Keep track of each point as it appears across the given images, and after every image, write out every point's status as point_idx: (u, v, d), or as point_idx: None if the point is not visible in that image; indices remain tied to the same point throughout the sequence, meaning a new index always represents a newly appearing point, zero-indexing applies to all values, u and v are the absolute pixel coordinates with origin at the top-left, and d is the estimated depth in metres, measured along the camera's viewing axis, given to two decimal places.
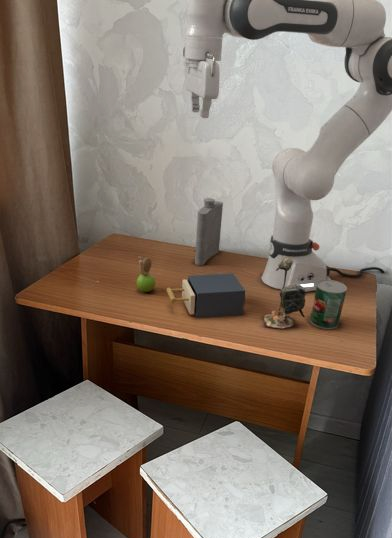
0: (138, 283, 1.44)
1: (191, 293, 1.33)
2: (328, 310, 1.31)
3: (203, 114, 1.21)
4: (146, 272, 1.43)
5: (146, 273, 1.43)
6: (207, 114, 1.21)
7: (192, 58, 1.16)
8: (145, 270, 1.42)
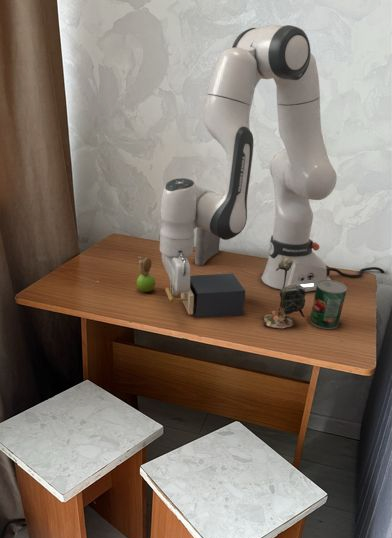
0: (138, 283, 1.44)
1: (190, 293, 1.33)
2: (328, 310, 1.31)
3: (173, 292, 1.34)
4: (146, 272, 1.43)
5: (146, 273, 1.43)
6: (177, 292, 1.34)
7: (166, 254, 1.26)
8: (145, 270, 1.42)
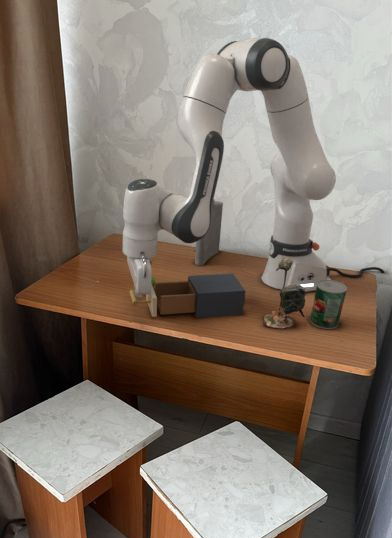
0: None
1: (153, 295, 1.31)
2: (328, 310, 1.31)
3: (137, 294, 1.32)
4: None
5: None
6: (140, 294, 1.32)
7: (128, 255, 1.24)
8: None
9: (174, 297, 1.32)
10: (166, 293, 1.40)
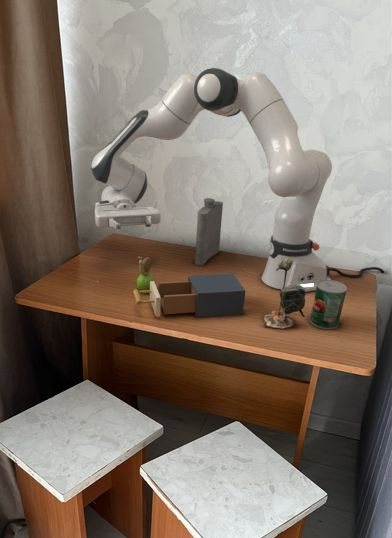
0: (138, 283, 1.44)
1: (157, 295, 1.31)
2: (328, 310, 1.31)
3: None
4: (146, 272, 1.43)
5: (146, 273, 1.43)
6: None
7: (132, 201, 1.56)
8: (145, 270, 1.42)
9: (178, 297, 1.32)
10: (169, 293, 1.40)
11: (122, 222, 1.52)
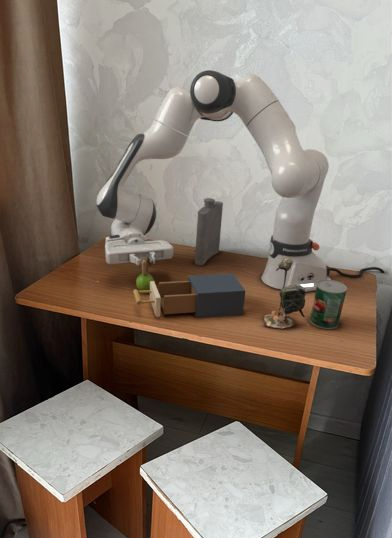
0: (140, 284, 1.44)
1: (157, 295, 1.31)
2: (328, 310, 1.31)
3: None
4: (146, 272, 1.43)
5: (146, 273, 1.43)
6: None
7: None
8: (146, 270, 1.42)
9: (178, 297, 1.32)
10: (169, 293, 1.40)
11: None
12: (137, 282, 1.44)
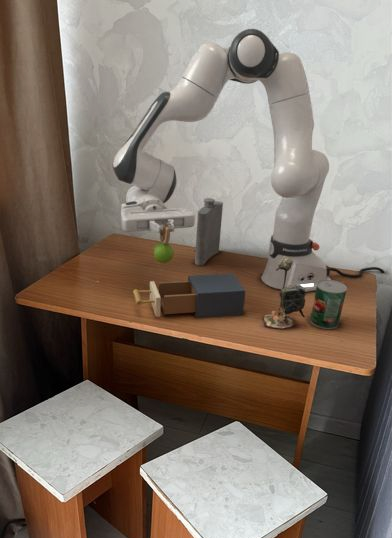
0: (162, 254, 1.32)
1: (157, 295, 1.31)
2: (328, 310, 1.31)
3: None
4: None
5: None
6: None
7: (162, 202, 1.38)
8: None
9: (178, 297, 1.32)
10: (169, 293, 1.40)
11: None
12: (158, 253, 1.32)
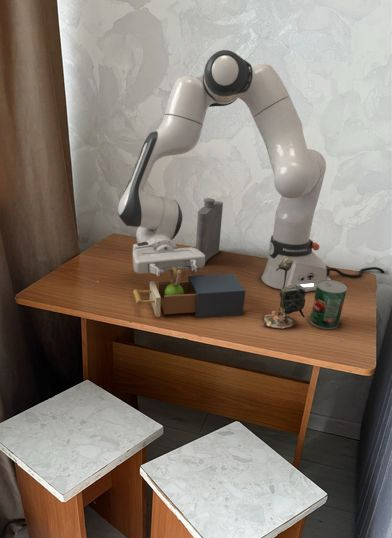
0: None
1: (157, 295, 1.31)
2: (328, 310, 1.31)
3: None
4: None
5: None
6: None
7: (173, 242, 1.41)
8: None
9: (178, 297, 1.32)
10: None
11: (163, 267, 1.36)
12: (169, 294, 1.34)
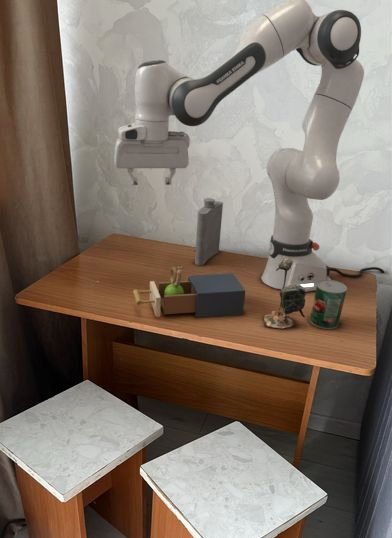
0: None
1: (157, 295, 1.31)
2: (328, 310, 1.31)
3: (170, 181, 1.39)
4: None
5: None
6: None
7: (164, 139, 1.30)
8: None
9: (178, 297, 1.32)
10: None
11: None
12: (169, 294, 1.34)
